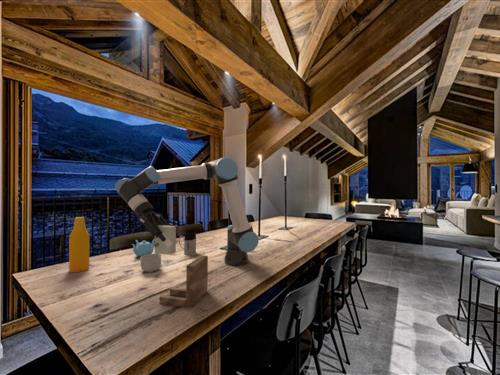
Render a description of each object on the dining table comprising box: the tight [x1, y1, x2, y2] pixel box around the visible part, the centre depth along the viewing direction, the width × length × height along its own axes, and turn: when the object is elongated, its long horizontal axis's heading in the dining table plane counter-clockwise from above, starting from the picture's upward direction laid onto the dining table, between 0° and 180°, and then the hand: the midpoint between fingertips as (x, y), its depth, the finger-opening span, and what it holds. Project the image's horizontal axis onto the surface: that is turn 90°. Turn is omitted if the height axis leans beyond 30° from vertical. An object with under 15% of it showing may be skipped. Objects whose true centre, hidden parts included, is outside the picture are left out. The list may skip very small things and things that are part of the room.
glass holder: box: [178, 230, 197, 256], centre depth 160 cm, size 9×14×15 cm, turn 148°
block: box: [154, 224, 177, 256], centre depth 105 cm, size 8×5×12 cm, turn 77°
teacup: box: [139, 252, 162, 273], centre depth 132 cm, size 14×11×8 cm
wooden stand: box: [159, 254, 209, 308], centre depth 100 cm, size 14×14×16 cm
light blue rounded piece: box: [131, 238, 155, 258], centre depth 156 cm, size 13×13×10 cm
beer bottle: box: [68, 216, 90, 273], centre depth 130 cm, size 9×9×29 cm
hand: (173, 244), depth 104 cm, fingers closed on block, 4 cm apart
